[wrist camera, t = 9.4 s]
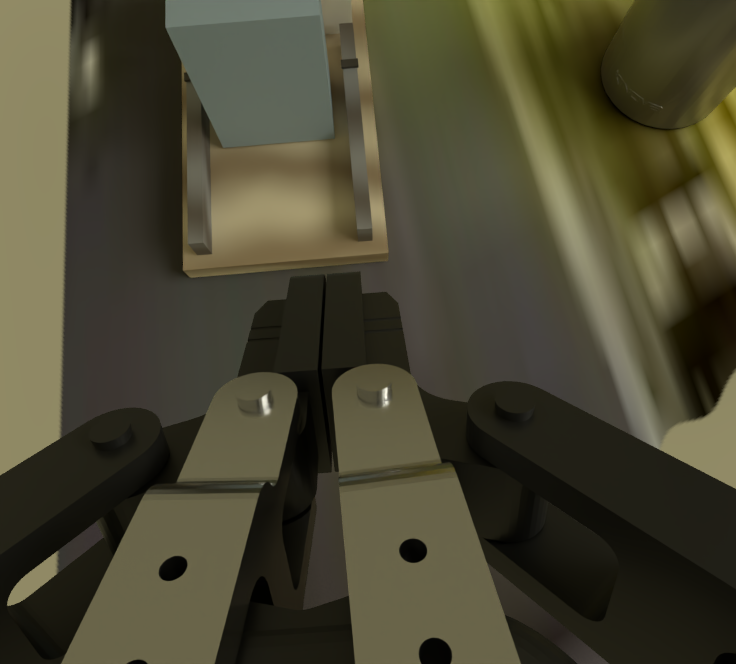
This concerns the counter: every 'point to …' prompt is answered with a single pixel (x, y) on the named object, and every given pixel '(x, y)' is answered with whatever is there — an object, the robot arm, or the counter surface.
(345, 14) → the stop block
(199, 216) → the beige wooden tray
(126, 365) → the counter surface
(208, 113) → the grey rectangular block
